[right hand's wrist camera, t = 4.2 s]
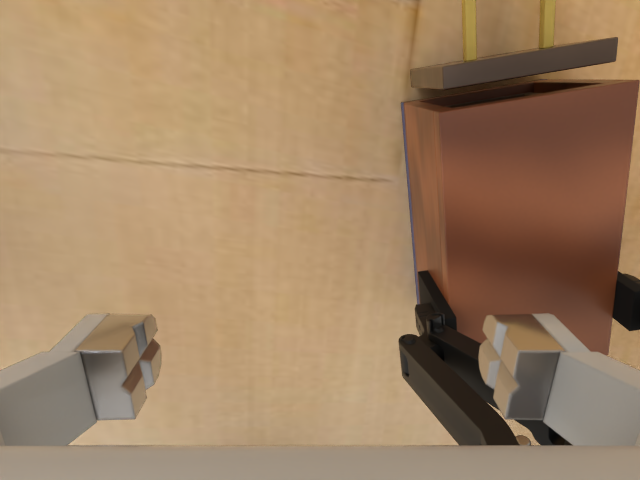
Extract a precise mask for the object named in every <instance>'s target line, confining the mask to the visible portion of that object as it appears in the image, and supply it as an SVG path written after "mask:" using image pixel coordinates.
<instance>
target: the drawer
mask: <svg viewBox="0 0 640 480" xmlns="http://www.w3.org/2000/svg"><path fill="white" fill-rule="evenodd" d="M555 2H556V0H540V26H539V48H535V49H529V50H523V51H517V52H511V53H505V54H499V55H493V56H487V57H481V58H477V43H476V0H462V26H463V61H457V62H452V63H446V64H440V65H434V66H428V67H422V68H416V69H411V70H410V75H411V87H415V88H428V89H440V90H447V89H453V88H459V87H465V86H471V85H477V84H483V83H489V82H495V81H501V80H507V79H513V78H519V77H525V76H531V75H537V74H543V73H549V72H556V71H562V70H568V69H574V68H580V67H586V66H592V65H598V64H604V63H610V62H615V61H616V55H617V44H618V37H613V38H606V39H599V40H592V41H584V42H577V43H570V44H563V45H555V46H554V25H555ZM536 94H542V93H533V92H527V93H521V94H515V95H509V96H503V97H497V98H491V99H484V100H478V101H472V102H466V103H460V104H454V105H448V106H444V107H449V108H456V107H462V106H468V105H474V104H481V103H487V102H493V101H499V100H505V99H511V98H517V97H523V96H529V95H536Z"/></svg>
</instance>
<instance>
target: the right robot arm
mask: <svg viewBox="0 0 640 480" xmlns="http://www.w3.org/2000/svg"><path fill="white" fill-rule="evenodd" d="M482 330H483V332H484V334H485V335H486V337H487V339H486V340H485V341H484V342H483V343H482V344H481V345H480V348H479V356H478V359H479V369H480V372H481V376H482V378H483V380H484V382H485V384H486V385H488V386H489V387H491V388H492V389H494V396H493V399H494V400H495V402H496V404H497V406H498V408H499V409H500V411H501V413H502V415H503V417H504V418H505V419H517V420H543V422H544V423H545V424H546V425H548V426H549V427H550V428H551V429H553V430H554V431H555V432H557V433H558V434H559V435H560V436H562V437H563V438H564V439H566V440H567V441H568V442H569V443H571V444H572V445H488V446H166V445H68V444H69V443H71V442H72V441H73V440H75V439H76V438H77V437H78V436H80V435H81V434H82V433H84V432H85V431H86V430H87V429H89V428H90V427H91V426H93V425H94V424H95V423H96V422H97V420H122V419H135V418H136V417H137V415H138V413H139V411H140V409H141V408H142V406H143V404H144V402H145V400H146V399H147V396H146V389H148V388H149V387H151V386H153V385H154V384H155V382H156V380H157V378H158V376H159V372H160V368H161V348H160V345H159V344H158V343H157V342H156V341H155V340H154V339H153V337H154V335H155V334H156V332H157V325H156V320H155V318H154V317H153V316H152V314H109V313H103V314H88V315H86V316H85V317H84V318H83V319H82V320H81V321H80V322H79V323H78V324H77V325H76V326H75V327H74V328H73V329H72V330H71V331H70V332H69V333H68V334H67V335H66V336H65V337H64V338H63V339H62V340H61V341H60V342H59V343H58V344H57V345H56V346H55V347H53V348H52V349H51V350H50V351H49V352H41V353H38V354H36V355H34V356H32V357H29V358H27V359H25V360H23V361H20V362H18V363H16V364H13V365H11V366H9V367H7V368H4V369H2V370H0V480H640V370H638V369H636V368H633V367H631V366H629V365H627V364H624V363H622V362H620V361H617V360H615V359H613V358H611V357H608V356H606V355H604V354H602V353H599V352H591V351H590V350H589V349H588V348H587V347H586V346H585V345H584V344H583V343H582V342H581V341H580V340H578V339H577V338H576V337H575V336H574V335H573V334H572V333H571V332H570V331H569V330H568V329H567V328H566V327H565V326H564V325H563V324H562V323H561V322H560V321H559V320H558V319H557V318H556V317H555V316H554V315H552V314H549V313H542V314H508V315H487V316H486V318H485V320H484V324H483V329H482Z"/></svg>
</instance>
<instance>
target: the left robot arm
mask: <svg viewBox="0 0 640 480" xmlns="http://www.w3.org/2000/svg"><path fill="white" fill-rule="evenodd" d="M418 281H419V294H420V304H416V307H415V316H416V327H417V329H418V331H419V334H420V336H419V337H418V336H416V335H413V334H406V335H403V336H401V337H400V338H399V349H400V359H401V368H402V376H403V378H404V379H405V380H406V382H407V383H408V384H409V385H410V386H411V388H412V389H413V390H414V391H415V392H416V394H417V395H418V396H419V397H420V398H421V400H422V401H423V402H424V403H425V404H426V406H427V407H428V408H429V409H430V410H431V412H432V413H433V414H434V415H435V416H436V418H437V419H438V420H439V421H440V422H441V424H442V425H443V426H444V427H445V428H446V430H447V431H448V432H449V433H450V435H451V436H452V437H453V438H454V439H455V441H456V442H457V443H458V444H459V445H460V446H488V445H531V441H530V440H529V439H528V438H527V437H525V436H523V435H519V436H516V437H515V436H514V434H513V432H512V430H511V429H510V427H509V426H508V425H507V423H506V422H505V421H504V419H503V418H502V417H501V416H500V415H499V414H498V413H497V412H496V411H495V410H494V409H493V408H492V407H491V406H490V405H492V406H494V407H495V408H497V409H498V410H500V409H499V408H498V406H497V404H496V402H495V400H494V399H493V396H494V389H492V388H491V387H489V386H488V385H486V384H485V382H484V380H483V378H482V376H481V372H480V369H479V359H478V356H479V348H480V345H481V343H479V342H477V341H475V340H473V339H471V338H469V337H467V336H466V335H464V334H462V333H460V332H458V331H457V319H456V316H455V314H454V313H453V311H452V309H451V308H450V306H449V304H448V303H447V301H446V300H445V298H444V296H443V295H442V293H441V291H440V290H439V288H438V286H437V285H436V283H435V281H434V280H433V278H432V276H431V275H430V273H429V271H428V270H425V271H419V272H418ZM613 318H614V319H615V320H616V321H618V322H619V323H620V324H621V325H623V326H624V327H625V328H626V329H628V330H629V331H633V330H640V280H639V279H637V278H636V277H634V276H631V275H628V274H622V273H620V272H619V271H618V273H617V282H616V291H615V299H614V308H613ZM488 403H489V404H490V405H489V404H488ZM514 420H515V421H517V422H519V423H520V424H522V425H523V426H525V427H526V428H528V429H529V430H530V431H531V432H532V434H533V436H534V438H535V440H536V441H537V442H538V443H539V444H540V445H572V444H571V443H569V442H568V441H567V440H566V439H564V438H563V437H562V436H560V435H559V434H558V433H557V432H555V431H554V430H553V429H551V428H550V427H549V426H548V425H546V424H545V423H544V422H543V420H517V419H514Z"/></svg>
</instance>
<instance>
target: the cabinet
mask: <svg viewBox="0 0 640 480" xmlns="http://www.w3.org/2000/svg"><path fill="white" fill-rule="evenodd" d="M638 90H639V80H547V79H541V80H536V81H530V82H524V83H518V84H512V85H506V86H499V87H493V88H487V89H481V90H475V91H469V92H463V93H457V94H451V95H445V96H439V97H433V98H427V99H421V100H415V101H408V102H401V110H402V122H403V134H404V146H405V158H406V171H407V183H408V195H409V207H410V219H411V232H412V244H413V256H414V268H415V281H416V293H417V304H420V294H419V281H418V272H419V271H425V270H428V271H429V273H430V275H431V276H432V278H433V280H434V281H435V283H436V285H437V286H438V288H439V290H440V291H441V293H442V295H443V296H444V298H445V300H446V301H447V303H448V304H449V306H450V308H451V309H452V311H453V313H454V314H455V316H456V319H457V331H458V332H460V333H462V334H464V335H466V336H467V337H469V338H471V339H473V340H475V341H477V342H479V343H481V344H482V343H483V342H484V341H485V340H486V339H487V337H486V335H485V334H484V332H483V330H482V329H483V324H484V320H485V318H486V316H487V315H508V314H542V313H549V314H552V315H554V316H555V317H556V318H557V319H558V320H559V321H560V322H561V323H562V324H563V325H564V326H565V327H566V328H567V329H568V330H569V331H570V332H571V333H572V334H573V335H574V336H575V337H576V338H577V339H578V340H580V341H581V342H582V343H583V344H584V345H585V346H586V347H587V348H588V349H589V350H590V351H591V352H599V353H602V354H604V355H608V352H609V343H610V334H611V326H612V317H613V308H614V299H615V291H616V282H617V273H618V264H619V256H620V247H621V238H622V229H623V221H624V212H625V203H626V194H627V186H628V177H629V168H630V160H631V151H632V142H633V133H634V125H635V116H636V107H637V98H638ZM527 92H533V93H542V94H536V95H529V96H523V97H517V98H511V99H505V100H499V101H493V102H487V103H481V104H474V105H468V106H462V107H456V108H449V107H444V106H448V105H454V104H460V103H466V102H472V101H478V100H484V99H491V98H497V97H503V96H509V95H515V94H521V93H527Z"/></svg>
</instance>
